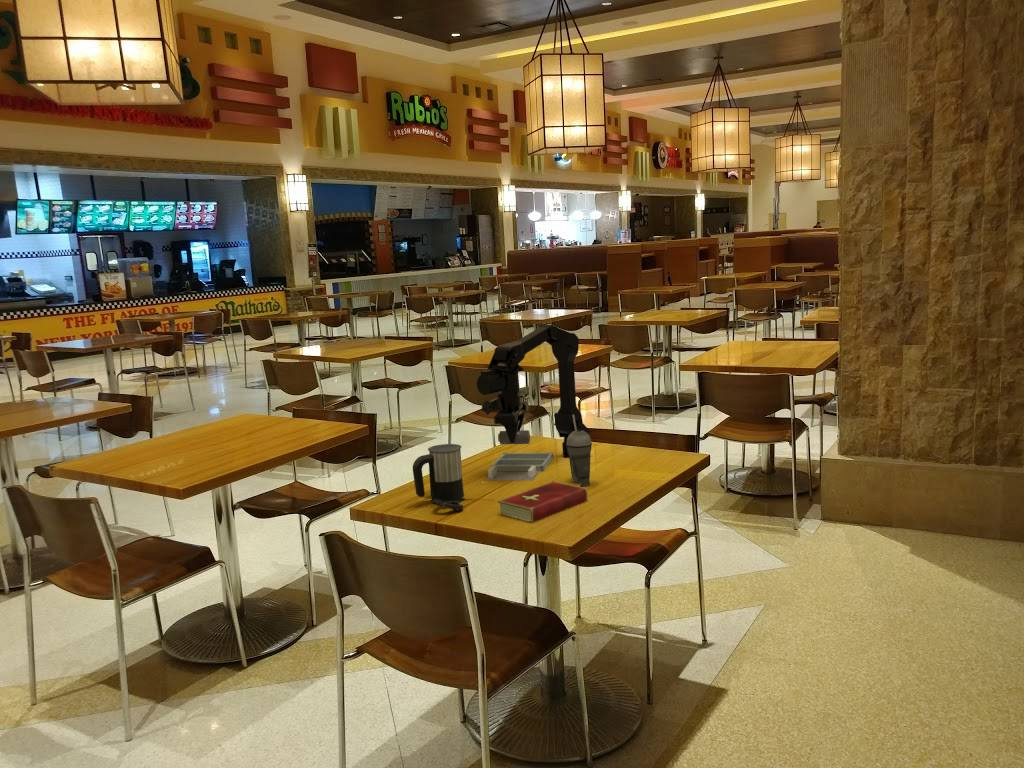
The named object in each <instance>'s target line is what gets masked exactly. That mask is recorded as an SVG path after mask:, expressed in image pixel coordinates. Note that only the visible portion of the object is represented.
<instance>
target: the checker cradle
mask: <svg viewBox="0 0 1024 768" xmlns="http://www.w3.org/2000/svg"><path fill="white" fill-rule="evenodd" d="M538 474H539V472H537V471H536V466H531V468H530V469H529V470H528V471H527V472H506V471H497V470H496V466H492V467H491V466H490V468H488V469H487V476H488V477H487V478H486V479H485V480H486V481H534V479H535V478H536V477H537V476H538Z"/></svg>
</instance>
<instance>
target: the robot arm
mask: <svg viewBox="0 0 1024 768" xmlns="http://www.w3.org/2000/svg"><path fill="white" fill-rule="evenodd" d="M544 343H546V344H548V345H550V346H551V353H552V354H553V356H554V357H555V360H557V367H558V368H557V370H558V371H557V372H558V385H559V386H558V387H559V408H558V410H557V412H554V414H553V417H554V423H553V426H555V429H556V431H557V432H558V433H557V434H558V437H559V438H563V442H562V445H561V446H562V456H563V458H564V459H566V458H567V459H569V453H568V450H567V446H566V444H567V438H568V436H569V435H570V433H572V432H573V431H575V428H574V422H573V416H572V415H574V417H575V423H576V428H577V430H583V431H585V432H586V433H587V434H588V435H589V436H590V434H591V431H590V429H589V428H588V427H587V426H586V425H585V424H584V421H583V416H582V413H581V411H580V410H579V408H578V406H577V398H576V397H577V394H576V393H577V392H576V376H575V374H576V373H575V359H576V357H577V356H578V353H579V348H580V347H579V344H580V340H579V337H578V335H576V333H574V332H569V331H567V330H564V329H562V328H559V327H557V326H556V325H555V324H541V325H539V327H538V328H536V329H534V330H533V331H531V332H530V333H527V334H526V335H524V336H523V337H521V338H518V340H516V341H511V342H507V343H503V344H500V345H498V346H496V347H495V348H494V350H493V351H494V352H493V355H492V357H491V359H490V362H489V364H488V367H487V370H480V376H478V378H477V379H476V381H477V382H476V388H477V390H478V392H479V393H480V394H481V395H483V396H488V395H491V394H495V393H498V392H499V393H498V394H497V397H495V398H494V399H493V398H492V399H487V400H483V401H482V404H481V411H482V412H484V415H485V416H488V415H490V414H491V413H493V412H496V411H498V412H497V413H496V414H495V415H494V417H493V423H494V424H495V425H502V426H503V427H504V430H505V431H506V432H507V435H508V437H509V440H510V442H511V443H514V441H515V438H516V434H517V431H519V430H521V429H522V426H523V423H524V420H525V417H526V415H527V414H526V413H525V412H528V411H529V408H530V407H529V403H528V401H526V400H521V395H522V390H521V389H520V387H521V386H520V377H519V373H520V372H524V370H525V369H524V367H522V366H520V365H519V364H521V363H522V361H523V360H524V359H525V356H526V355H527V354H528V353H529V352H531V351H533V350H534V349H536V348H538V347H539V346H541V345H543V344H544ZM522 410H523V411H524V412H522Z"/></svg>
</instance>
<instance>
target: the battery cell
mask: <svg viewBox="0 0 1024 768" xmlns="http://www.w3.org/2000/svg"><path fill="white" fill-rule="evenodd" d="M497 441H498V442H499V444H500V445H502V446H503V445H530V442H531V432H530V430H528V429H526V430H525V429H524V430H521V429H520V430H519V431H517V434H516V438H515V441H514V443H511V442H510V440H509V437H508V435H507V432H506V430H500V431H499V433H497Z"/></svg>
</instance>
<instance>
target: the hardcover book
mask: <svg viewBox="0 0 1024 768" xmlns="http://www.w3.org/2000/svg"><path fill="white" fill-rule="evenodd" d="M585 501H586V502H588V490H587V488H586V487H580V485H579V486H577V485H573V484H569V483H563V482H558V481H550V482H547V483H545V484H541V485H538V486H536V487H533V488H531V489H528V490H525V491H522V492H519V493H516V494H513V495H510V496H507V497H505V498H502V499H500V500H497V503H498V504H499V508H500V509H499V510H500V515H502V514H503V516H506V515H507V517H510V516H511V518H515V519H518V518H519V520H521V521H522V520H523V521H526V522H529V521H531V522H530V523H532V522H533V523H536V522H538V521H539V520H540V519H541V520H543V519H545V517H546V518H548V517H550V516H549V515H551V516H553V515H556V514H558V513H560V511H561V512H563V511H566V510H568V509H571V508H573V507H575V505H576V506H578V505H580V503H581V504H583V503H586V502H585ZM582 502H583V503H582ZM577 504H578V505H577ZM572 506H573V507H572ZM570 507H571V508H570ZM567 508H568V509H567ZM565 509H566V510H565ZM562 510H563V511H562ZM557 512H558V513H557ZM555 513H556V514H555ZM552 514H553V515H552ZM547 516H548V517H547ZM542 518H543V519H542ZM537 520H538V521H537ZM541 520H540V521H541ZM535 521H536V522H535ZM533 523H532V524H533Z"/></svg>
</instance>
